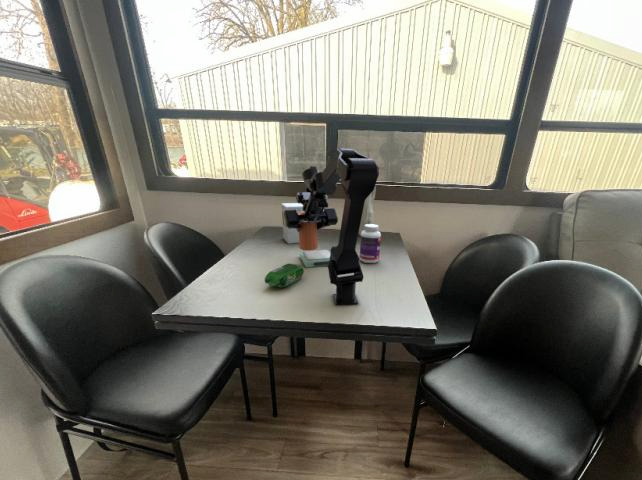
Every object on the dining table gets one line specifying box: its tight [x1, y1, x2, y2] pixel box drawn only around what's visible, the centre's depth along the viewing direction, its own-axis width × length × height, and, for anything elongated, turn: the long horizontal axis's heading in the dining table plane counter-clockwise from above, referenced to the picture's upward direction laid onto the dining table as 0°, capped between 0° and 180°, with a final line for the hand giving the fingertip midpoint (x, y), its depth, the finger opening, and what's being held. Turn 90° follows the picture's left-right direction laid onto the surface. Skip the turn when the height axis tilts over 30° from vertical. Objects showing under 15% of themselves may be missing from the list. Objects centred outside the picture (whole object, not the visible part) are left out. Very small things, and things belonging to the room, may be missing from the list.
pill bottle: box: [359, 224, 382, 264], centre depth 118 cm, size 8×8×14 cm
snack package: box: [264, 263, 305, 288], centre depth 97 cm, size 7×16×5 cm, turn 153°
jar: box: [298, 212, 319, 251], centre depth 112 cm, size 7×7×13 cm
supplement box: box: [281, 202, 304, 244], centre depth 139 cm, size 10×9×17 cm
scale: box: [299, 249, 331, 268], centre depth 118 cm, size 12×12×3 cm
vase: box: [358, 185, 377, 237], centre depth 151 cm, size 9×8×30 cm
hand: (306, 230), depth 113 cm, fingers closed on jar, 7 cm apart
